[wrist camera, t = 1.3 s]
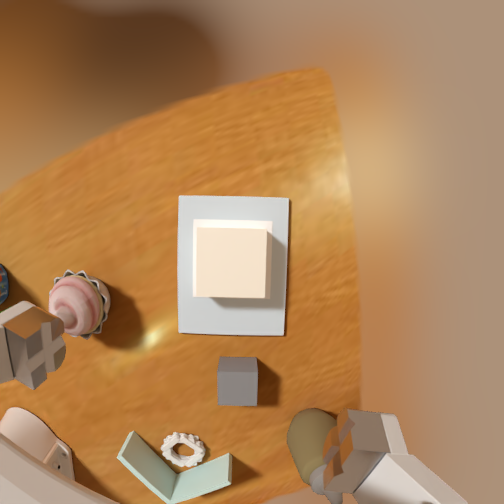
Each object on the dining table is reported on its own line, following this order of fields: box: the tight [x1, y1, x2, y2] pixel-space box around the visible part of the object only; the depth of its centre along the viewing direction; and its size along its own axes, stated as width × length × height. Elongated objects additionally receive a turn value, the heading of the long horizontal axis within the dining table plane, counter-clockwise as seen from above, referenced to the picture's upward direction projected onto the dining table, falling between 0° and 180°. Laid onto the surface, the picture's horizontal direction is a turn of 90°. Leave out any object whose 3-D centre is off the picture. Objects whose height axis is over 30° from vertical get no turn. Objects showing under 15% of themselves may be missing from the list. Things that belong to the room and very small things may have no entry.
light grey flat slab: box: [178, 196, 289, 335], centre depth 42 cm, size 18×14×1 cm
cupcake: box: [49, 270, 111, 340], centre depth 37 cm, size 9×9×10 cm
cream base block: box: [196, 227, 267, 298], centre depth 39 cm, size 8×8×4 cm
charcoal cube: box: [217, 357, 258, 406], centre depth 41 cm, size 5×5×5 cm
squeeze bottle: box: [287, 408, 342, 504], centre depth 35 cm, size 8×8×18 cm
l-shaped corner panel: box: [117, 431, 232, 504], centre depth 41 cm, size 12×12×8 cm
